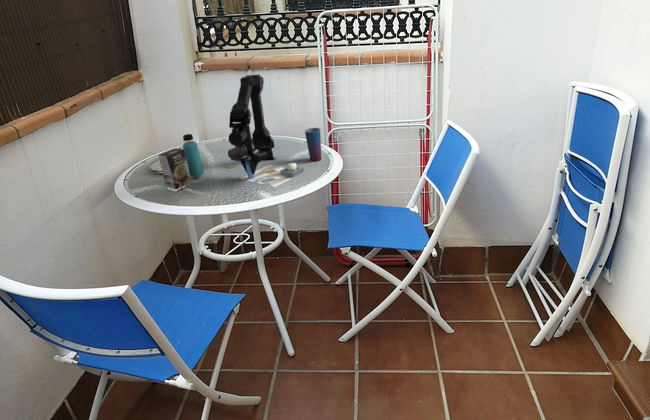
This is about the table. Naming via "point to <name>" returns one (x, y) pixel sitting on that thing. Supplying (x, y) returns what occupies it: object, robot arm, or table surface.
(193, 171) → the beverage bottle
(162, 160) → the coffee box
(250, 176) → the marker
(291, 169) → the button
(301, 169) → the button housing
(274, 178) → the beige flat board
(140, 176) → the table surface
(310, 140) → the cup
